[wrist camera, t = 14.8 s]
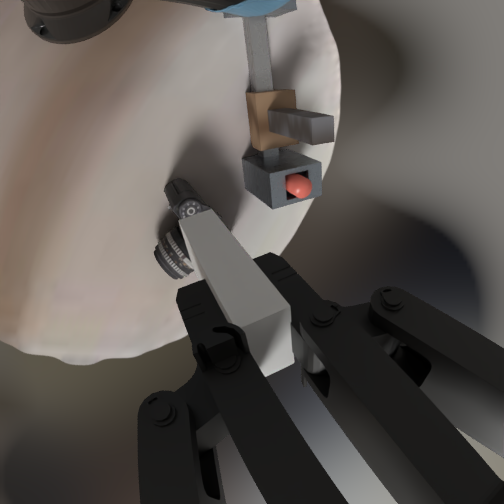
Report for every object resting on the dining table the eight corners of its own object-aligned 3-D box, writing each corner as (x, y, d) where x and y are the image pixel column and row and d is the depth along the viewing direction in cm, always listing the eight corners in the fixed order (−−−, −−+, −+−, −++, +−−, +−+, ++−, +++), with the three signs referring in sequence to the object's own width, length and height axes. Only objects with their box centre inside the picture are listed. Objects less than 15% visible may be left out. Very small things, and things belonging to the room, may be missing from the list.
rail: (220, -11, 28) (246, -33, 21) (273, -10, 31) (307, -26, 24) (245, 188, 46) (272, 209, 39) (291, 177, 49) (323, 194, 42)
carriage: (241, 93, 38) (297, 96, 26) (278, 89, 40) (342, 93, 28) (247, 145, 42) (302, 169, 31) (282, 138, 44) (344, 160, 33)
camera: (126, 220, 41) (130, 253, 33) (182, 170, 41) (200, 191, 33) (185, 276, 50) (202, 313, 42) (235, 233, 50) (261, 264, 42)
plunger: (276, 171, 40) (293, 180, 37) (294, 167, 41) (311, 176, 38) (278, 190, 42) (294, 200, 38) (295, 185, 42) (312, 195, 39)
